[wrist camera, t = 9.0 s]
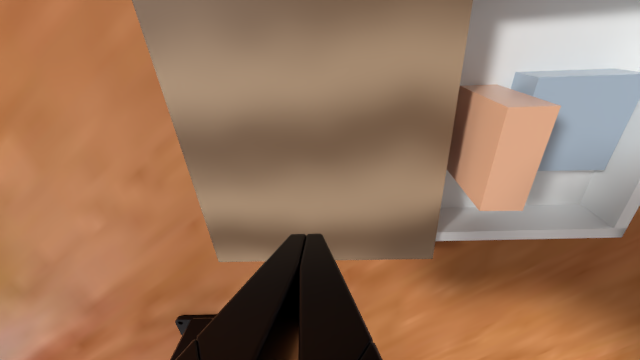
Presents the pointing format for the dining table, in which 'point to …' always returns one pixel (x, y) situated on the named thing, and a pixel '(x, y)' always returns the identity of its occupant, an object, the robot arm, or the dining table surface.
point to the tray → (551, 55)
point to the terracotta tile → (498, 144)
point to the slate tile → (583, 113)
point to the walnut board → (313, 117)
